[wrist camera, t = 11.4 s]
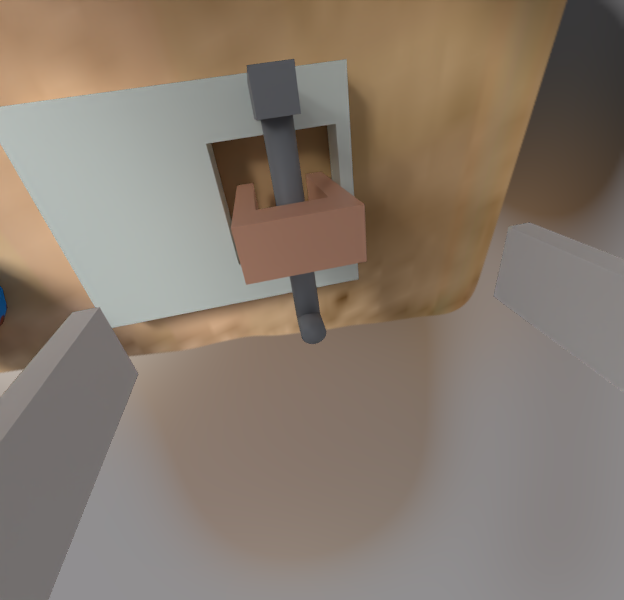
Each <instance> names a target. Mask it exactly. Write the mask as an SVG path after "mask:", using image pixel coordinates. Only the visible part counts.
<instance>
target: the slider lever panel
mask: <svg viewBox="0 0 624 600" xmlns="http://www.w3.org/2000/svg"><path fill="white" fill-rule="evenodd" d="M324 125H327V130H328V142H329V153H330V164H331V175H332V180H333V181H334V182H336V183H337V184H338V185H340V186H341V187H342V188H344V189H345V190H346V191H348V192H349V193H350V194H352V195H353V196H354V186H353V168H352V150H351V132H350V114H349V96H348V78H347V60H346V59H344V60H337V61H330V62H322V63H315V64H308V65H301V66H295V62H294V59H290V60H282V61H275V62H267V63H260V64H253V65H247V73H242V74H235V75H228V76H220V77H213V78H206V79H199V80H191V81H184V82H177V83H169V84H162V85H155V86H148V87H140V88H133V89H126V90H118V91H111V92H104V93H97V94H89V95H82V96H75V97H67V98H60V99H53V100H46V101H38V102H31V103H24V104H16V105H9V106H2V107H0V144H1V146H2V147H3V149H4V151H5V152H6V154H7V156H8V158H9V159H10V161H11V163H12V165H13V166H14V168H15V170H16V171H17V173H18V175H19V177H20V178H21V180H22V182H23V184H24V185H25V187H26V189H27V190H28V192H29V194H30V196H31V197H32V199H33V201H34V203H35V204H36V206H37V208H38V209H39V211H40V213H41V215H42V216H43V218H44V220H45V222H46V223H47V225H48V227H49V228H50V230H51V232H52V234H53V235H54V237H55V239H56V241H57V242H58V244H59V246H60V247H61V249H62V251H63V253H64V254H65V256H66V258H67V260H68V261H69V263H70V265H71V266H72V268H73V270H74V272H75V273H76V275H77V277H78V278H79V280H80V282H81V284H82V285H83V287H84V289H85V291H86V292H87V294H88V296H89V297H90V299H91V301H92V303H93V304H94V306H95V308H97V307H100V309H101V310H102V312H103V314H104V316H105V317H106V319H107V321H108V322H109V324H110V326H111V328H114V327H119V326H125V325H130V324H135V323H140V322H145V321H150V320H155V319H160V318H165V317H170V316H175V315H180V314H185V313H190V312H195V311H200V310H205V309H210V308H215V307H221V306H226V305H231V304H236V303H241V302H246V301H251V300H256V299H261V298H266V297H271V296H276V295H281V294H286V293H291V292H292V293H293V298H294V304H295V309H296V314H297V320H298V324H299V328H300V332H301V336H302V339H303V340H304V341H305V342H306V343H309V344H316V343H319V342H320V341H322V340H323V339H324V338H325V336H326V329H325V326H324V323H323V321H322V318H321V315H320V310H319V302H318V295H317V288H316V287H322V286H327V285H332V284H337V283H342V282H347V281H352V280H357V279H359V276H358V263H356V264H351V265H346V266H341V267H335V268H330V269H325V270H320V271H315V272H310V273H305V274H299V275H294V276H289V277H284V278H279V279H274V280H269V281H263V282H258V283H253V284H248V285H246V283H245V279H244V275H243V271H242V268H241V264H240V260H239V257H238V253H237V249H236V245H235V242H234V238H233V234H232V231H231V224H232V220H231V217H230V213H229V209H228V205H227V202H226V198H225V194H224V190H223V186H222V183H221V179H220V175H219V171H218V168H217V164H216V160H215V156H214V152H213V149H212V145H211V143H214V142H220V141H227V140H233V139H240V138H246V137H253V136H259V135H264V141H265V146H266V152H267V157H268V162H269V168H270V173H271V179H272V184H273V190H274V195H275V200H276V206H281V205H286V204H292V203H298V202H304V201H305V200H304V193H303V185H302V178H301V171H300V163H299V156H298V149H297V141H296V134H295V130H298V129H305V128H311V127H318V126H324Z"/></svg>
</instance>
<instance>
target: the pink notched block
mask: <svg viewBox="0 0 624 600" xmlns="http://www.w3.org/2000/svg"><path fill="white" fill-rule="evenodd" d="M306 182H307V190H308V197H309V201H304V202H298V203H292V204H286V205H281V206H275V207H269V208H264V209H259V208H258V203H257V199H256V194H255V189H254V185H253V183H249V184H243V185H237V190H236V196H235V203H234V210H233V217H232V224H231V231H232V234H233V238H234V242H235V245H236V249H237V253H238V257H239V260H240V264H241V268H242V271H243V275H244V279H245V283H246V285H248V284H253V283H258V282H263V281H269V280H274V279H279V278H284V277H289V276H294V275H299V274H305V273H310V272H315V271H320V270H325V269H330V268H335V267H341V266H346V265H351V264H356V263H361V262H366V261H367V252H366V226H365V204H364V203H362V202H361V201H360V200H358V199H357V198H356V197H354V196H353V195H352V194H350V193H349V192H348V191H346V190H345V189H344V188H342V187H341V186H340V185H338V184H337V183H336V182H334V181H333V180H332V179H330V178H329V177H328V176H326V175H325V174H324V173H322V172H315V173H309V174H306Z"/></svg>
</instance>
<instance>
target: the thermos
mask: <svg viewBox="0 0 624 600" xmlns="http://www.w3.org/2000/svg"><path fill="white" fill-rule="evenodd" d="M6 310H7V305H6V301H5V297H4V293H3V289H2V288H1V286H0V325H1V324H2V323H3V320H4V317H5V313H6Z"/></svg>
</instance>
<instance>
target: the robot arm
mask: <svg viewBox="0 0 624 600" xmlns="http://www.w3.org/2000/svg"><path fill="white" fill-rule="evenodd" d="M494 297H495V298H496V299H498V300H499V301H500V302H502V303H503V304H504V305H506V306H507V307H508V308H510V309H511V310H513V311H514V312H515V313H516V314H518V315H519V316H520V317H522V318H523V319H525V320H526V321H527V322H529V323H530V324H531V325H533V326H534V327H535V328H537V329H538V330H540V331H541V332H542V333H544V334H545V335H546V336H548V337H549V338H550V339H552V340H553V341H554V342H556V343H557V344H558V345H560V346H561V347H562V348H564V349H565V350H567V351H568V352H569V353H571V354H572V355H574V356H575V357H576V358H577V359H579V360H580V361H581V362H583V363H584V364H585V365H587V366H588V367H589V368H591V369H592V370H594V371H595V372H596V373H598V374H599V375H600V376H602V377H603V378H604V379H606V380H607V381H608V382H610V383H611V384H613V385H614V386H615V387H616V388H618V389H619V390H621V391H622V392H623V393H624V259H623V258H620V257H617V256H615V255H612V254H610V253H607V252H604V251H602V250H599V249H596V248H594V247H591V246H589V245H586V244H584V243H581V242H578V241H576V240H573V239H571V238H568V237H566V236H563V235H560V234H558V233H555V232H553V231H550V230H548V229H545V228H542V227H540V226H537V225H535V224H532V223H530V222H529V223H524V224H519V225H515V226H509V227H508V232H507V236H506V241H505V246H504V250H503V255H502V259H501V264H500V269H499V274H498V278H497V283H496V287H495V292H494ZM137 376H138V372H137V371H136V369H135V367H134V365H133V364H132V362H131V360H130V359H129V357H128V355H127V353H126V352H125V350H124V348H123V347H122V345H121V343H120V341H119V340H118V338H117V336H116V334H115V333H114V331H113V329H112V328H111V326H110V324H109V322H108V321H107V319H106V317H105V316H104V314H103V312H102V310H101V309H100V307H97V308H92V309H87V310H81V311H76V312H72V313H71V314H70V316H69V317H68V318H67V319H66V320H65V321H64V323H63V324H62V325H61V326H60V327H59V329H58V330H57V331H56V332H55V333H54V334H53V336H52V337H51V338H50V339H49V340H48V341H47V343H46V344H45V345H44V346H43V347H42V349H41V350H40V351H39V352H38V353H37V354H36V356H35V357H34V358H33V359H32V360H31V361H30V363H29V364H28V365H27V366H26V367H25V369H24V370H23V371H22V372H21V373H20V374H19V376H18V377H17V378H16V379H15V381H14V382H13V383H12V384H11V385H10V386H9V388H8V389H7V390H6V391H5V392H4V393H3V394H2V396H1V397H0V600H48V599H49V597H50V594H51V592H52V589H53V587H54V584H55V582H56V579H57V576H58V574H59V572H60V569H61V566H62V564H63V561H64V559H65V557H66V554H67V552H68V549H69V547H70V544H71V542H72V539H73V537H74V534H75V531H76V529H77V527H78V524H79V521H80V519H81V517H82V514H83V511H84V509H85V506H86V504H87V501H88V499H89V496H90V494H91V491H92V489H93V486H94V484H95V481H96V479H97V476H98V474H99V471H100V469H101V466H102V464H103V461H104V459H105V456H106V454H107V451H108V449H109V446H110V444H111V441H112V439H113V436H114V434H115V431H116V429H117V426H118V424H119V421H120V418H121V416H122V414H123V411H124V409H125V406H126V404H127V401H128V399H129V396H130V394H131V391H132V389H133V386H134V384H135V381H136V379H137Z"/></svg>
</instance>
